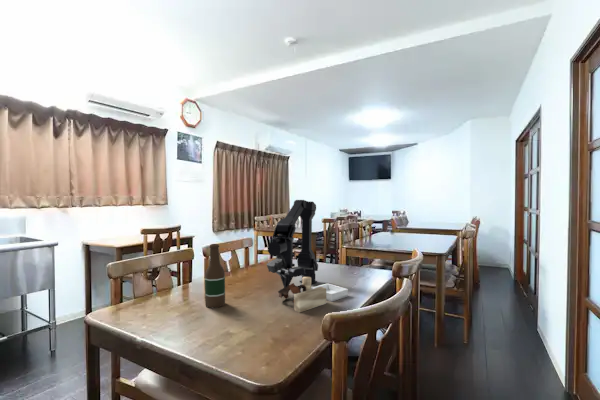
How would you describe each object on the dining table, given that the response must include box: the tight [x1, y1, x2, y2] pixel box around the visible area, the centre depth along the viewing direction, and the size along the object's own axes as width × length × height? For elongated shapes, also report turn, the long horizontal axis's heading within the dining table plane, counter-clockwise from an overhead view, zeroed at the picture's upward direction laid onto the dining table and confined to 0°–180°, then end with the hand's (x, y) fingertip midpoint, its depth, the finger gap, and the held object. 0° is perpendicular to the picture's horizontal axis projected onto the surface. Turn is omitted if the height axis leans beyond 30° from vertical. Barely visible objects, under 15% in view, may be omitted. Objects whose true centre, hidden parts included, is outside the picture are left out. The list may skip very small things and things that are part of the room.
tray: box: [311, 282, 349, 302], centre depth 133 cm, size 12×10×3 cm
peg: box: [301, 277, 312, 291], centre depth 139 cm, size 4×4×6 cm
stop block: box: [293, 287, 327, 313], centre depth 119 cm, size 3×14×6 cm, turn 131°
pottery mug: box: [277, 283, 307, 303], centre depth 126 cm, size 12×10×8 cm
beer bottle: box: [204, 243, 226, 308], centre depth 123 cm, size 8×8×24 cm
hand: (286, 288), depth 131 cm, fingers closed
